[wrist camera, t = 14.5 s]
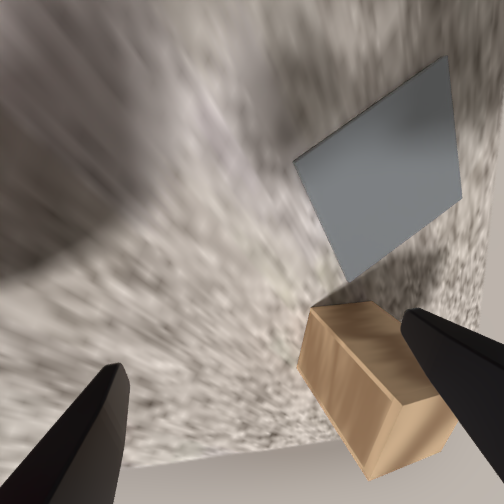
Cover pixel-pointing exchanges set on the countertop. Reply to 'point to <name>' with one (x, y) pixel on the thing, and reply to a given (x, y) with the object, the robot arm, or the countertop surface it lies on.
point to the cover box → (372, 387)
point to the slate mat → (386, 171)
